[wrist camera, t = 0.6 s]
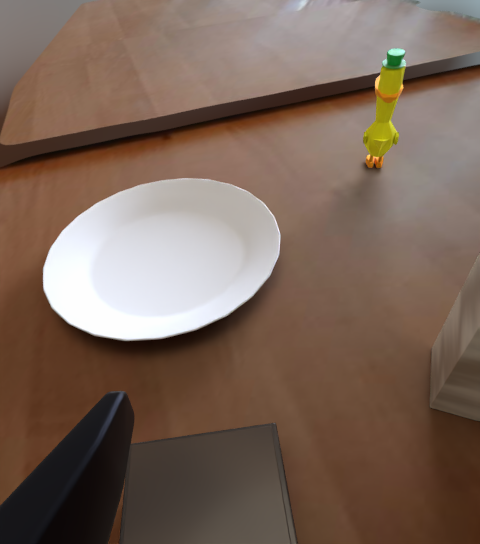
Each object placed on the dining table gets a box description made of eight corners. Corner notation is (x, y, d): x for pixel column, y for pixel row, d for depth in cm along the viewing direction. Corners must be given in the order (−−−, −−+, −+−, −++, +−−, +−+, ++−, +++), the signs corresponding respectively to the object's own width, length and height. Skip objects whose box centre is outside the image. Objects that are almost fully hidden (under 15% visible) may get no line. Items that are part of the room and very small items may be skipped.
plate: (102, 412, 25) (90, 396, 24) (29, 250, 38) (18, 233, 37) (329, 271, 33) (332, 252, 31) (204, 174, 46) (202, 158, 44)
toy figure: (358, 148, 47) (374, 38, 39) (388, 148, 46) (412, 36, 38) (359, 177, 42) (378, 60, 34) (392, 178, 42) (421, 59, 33)
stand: (308, 626, 17) (312, 622, 15) (134, 652, 17) (104, 654, 14) (276, 446, 23) (275, 418, 20) (145, 466, 23) (125, 440, 20)
